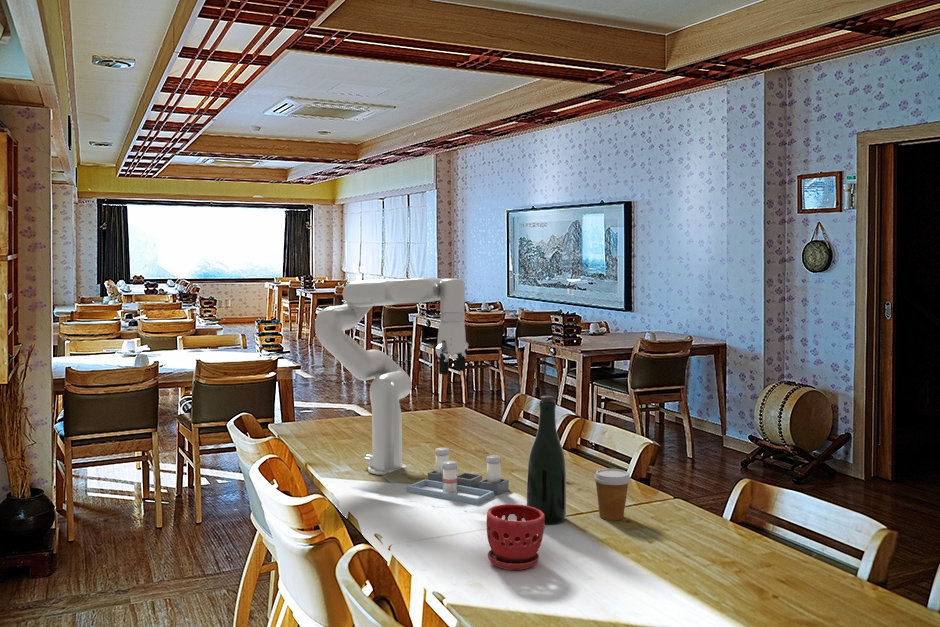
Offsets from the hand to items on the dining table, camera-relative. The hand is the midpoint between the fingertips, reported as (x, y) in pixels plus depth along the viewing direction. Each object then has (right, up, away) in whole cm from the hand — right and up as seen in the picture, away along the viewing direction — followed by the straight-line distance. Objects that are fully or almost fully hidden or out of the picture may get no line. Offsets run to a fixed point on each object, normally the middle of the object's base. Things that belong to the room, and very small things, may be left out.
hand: (452, 372), depth 256 cm
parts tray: (0, -35, -22) cm, 41 cm away
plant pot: (+16, -38, -71) cm, 82 cm away
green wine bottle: (+26, -36, -40) cm, 60 cm away
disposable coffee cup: (+44, -36, -38) cm, 68 cm away
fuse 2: (+12, -33, -19) cm, 40 cm away
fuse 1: (-3, -33, -9) cm, 34 cm away
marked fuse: (0, -34, -22) cm, 41 cm away
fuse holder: (+5, -34, -14) cm, 37 cm away
